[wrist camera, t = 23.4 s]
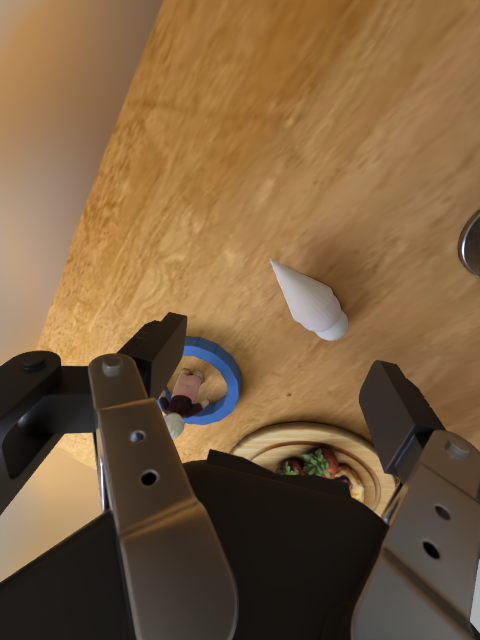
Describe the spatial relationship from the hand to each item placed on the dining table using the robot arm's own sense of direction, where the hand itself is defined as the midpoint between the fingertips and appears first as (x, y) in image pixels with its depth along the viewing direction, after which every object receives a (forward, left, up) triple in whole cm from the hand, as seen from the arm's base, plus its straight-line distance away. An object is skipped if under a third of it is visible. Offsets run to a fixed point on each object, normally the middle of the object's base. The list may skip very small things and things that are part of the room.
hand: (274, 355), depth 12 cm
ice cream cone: (-6, +5, -28) cm, 29 cm away
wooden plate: (-23, +40, -28) cm, 54 cm away
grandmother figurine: (+4, +26, -28) cm, 39 cm away
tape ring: (+4, +26, -28) cm, 38 cm away
